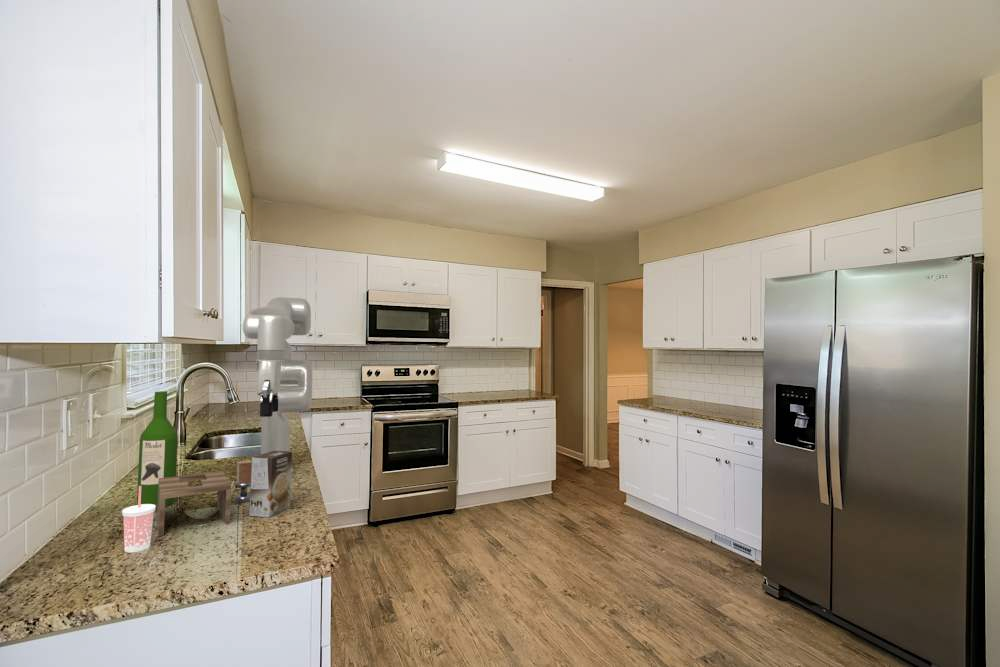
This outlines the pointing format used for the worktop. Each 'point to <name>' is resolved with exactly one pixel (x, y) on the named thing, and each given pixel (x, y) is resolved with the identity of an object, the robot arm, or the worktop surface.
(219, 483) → the keyhole plate
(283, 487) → the coffee box
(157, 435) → the wine bottle
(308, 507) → the worktop surface
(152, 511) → the beverage cup
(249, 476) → the keyhole pin
